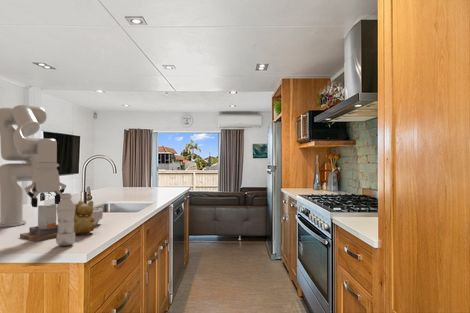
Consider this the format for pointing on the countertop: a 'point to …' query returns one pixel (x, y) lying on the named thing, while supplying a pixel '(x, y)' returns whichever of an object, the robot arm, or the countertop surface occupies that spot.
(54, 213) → the skincare box
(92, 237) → the countertop surface
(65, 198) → the plastic bottle
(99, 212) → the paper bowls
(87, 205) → the decorative figurine
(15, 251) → the countertop surface
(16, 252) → the countertop surface
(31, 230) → the serum holder
